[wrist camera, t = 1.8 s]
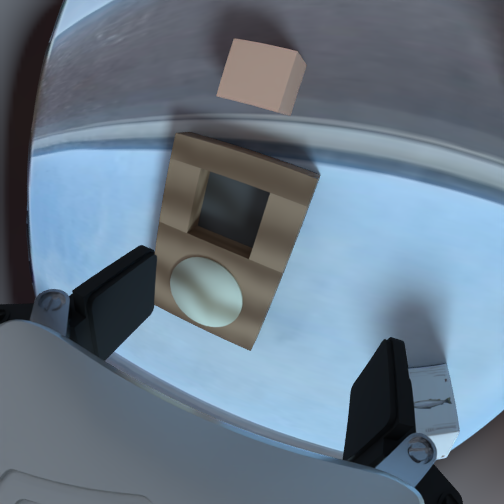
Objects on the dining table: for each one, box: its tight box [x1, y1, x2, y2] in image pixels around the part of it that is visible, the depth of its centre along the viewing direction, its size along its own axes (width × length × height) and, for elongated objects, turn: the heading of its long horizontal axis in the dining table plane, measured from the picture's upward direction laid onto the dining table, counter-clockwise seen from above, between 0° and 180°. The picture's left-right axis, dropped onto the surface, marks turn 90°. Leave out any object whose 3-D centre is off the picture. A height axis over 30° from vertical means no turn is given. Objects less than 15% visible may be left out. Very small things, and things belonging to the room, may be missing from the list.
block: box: [217, 38, 307, 116], centre depth 25 cm, size 6×6×6 cm
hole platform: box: [154, 132, 320, 351], centre depth 36 cm, size 24×16×3 cm, turn 164°
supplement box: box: [408, 364, 460, 459], centre depth 31 cm, size 7×7×13 cm
